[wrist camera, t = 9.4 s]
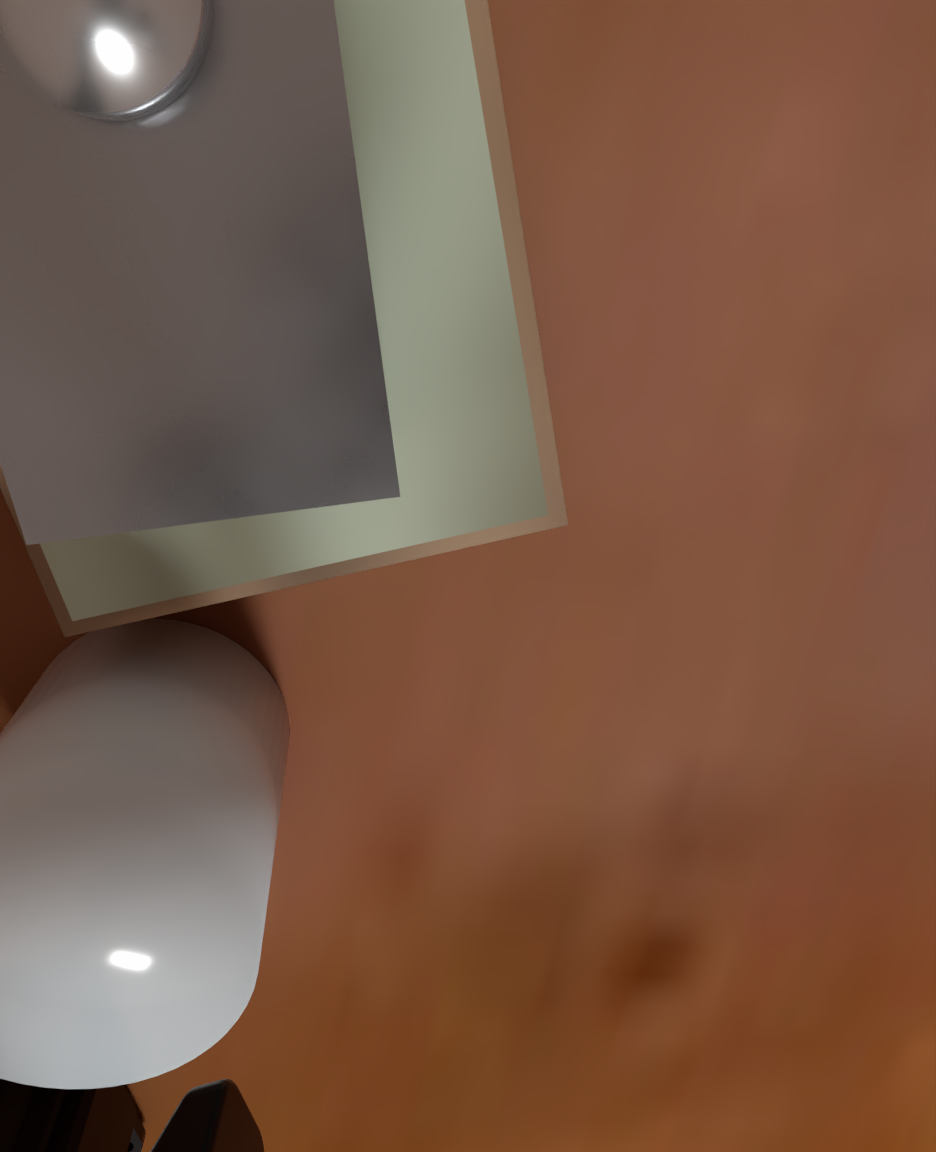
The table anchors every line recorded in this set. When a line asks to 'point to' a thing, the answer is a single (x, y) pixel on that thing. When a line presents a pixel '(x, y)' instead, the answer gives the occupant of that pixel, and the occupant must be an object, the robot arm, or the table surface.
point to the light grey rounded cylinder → (135, 853)
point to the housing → (182, 268)
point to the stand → (387, 348)
